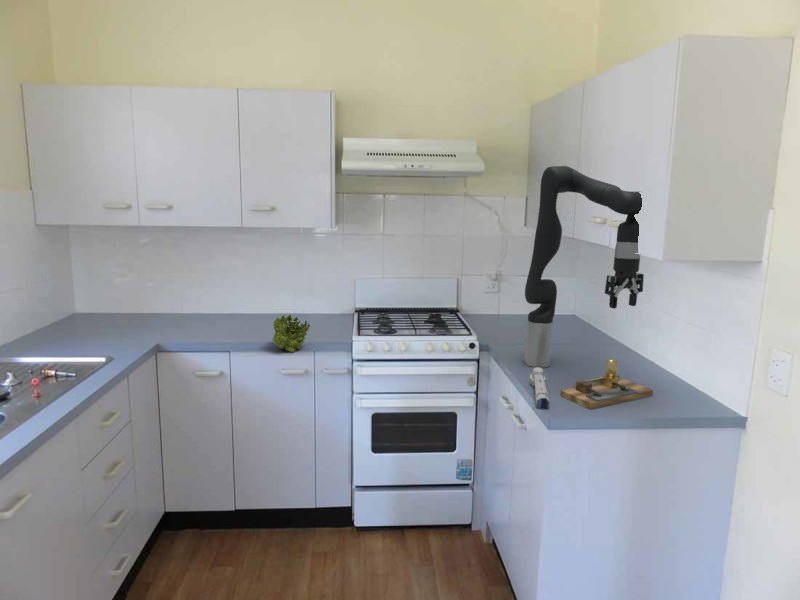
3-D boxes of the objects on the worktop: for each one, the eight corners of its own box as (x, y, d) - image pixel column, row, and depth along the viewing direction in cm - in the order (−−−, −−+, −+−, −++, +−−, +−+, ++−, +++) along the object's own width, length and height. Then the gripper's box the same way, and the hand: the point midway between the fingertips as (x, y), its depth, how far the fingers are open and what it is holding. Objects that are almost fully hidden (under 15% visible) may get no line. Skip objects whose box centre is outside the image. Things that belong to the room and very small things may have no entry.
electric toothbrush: (534, 397, 174) (530, 362, 198) (533, 416, 177) (528, 379, 200) (552, 398, 174) (545, 363, 197) (550, 417, 176) (544, 380, 199)
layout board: (560, 395, 186) (561, 384, 185) (621, 383, 199) (622, 372, 198) (590, 409, 175) (591, 397, 174) (652, 395, 187) (653, 384, 187)
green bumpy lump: (261, 334, 240) (287, 307, 245) (288, 359, 242) (314, 332, 247) (263, 330, 223) (291, 301, 228) (292, 357, 225) (319, 328, 230)
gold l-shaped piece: (601, 384, 191) (604, 358, 190) (608, 382, 193) (611, 357, 191) (620, 391, 184) (623, 365, 183) (627, 390, 186) (630, 363, 184)
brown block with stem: (575, 389, 186) (576, 381, 185) (582, 388, 187) (583, 379, 187) (593, 397, 179) (594, 388, 178) (600, 396, 180) (601, 387, 180)
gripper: (633, 254, 184) (628, 302, 187) (601, 255, 177) (597, 306, 181) (652, 256, 177) (647, 307, 180) (620, 258, 171) (615, 311, 174)
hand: (622, 306), depth 181 cm, fingers open, 8 cm apart
